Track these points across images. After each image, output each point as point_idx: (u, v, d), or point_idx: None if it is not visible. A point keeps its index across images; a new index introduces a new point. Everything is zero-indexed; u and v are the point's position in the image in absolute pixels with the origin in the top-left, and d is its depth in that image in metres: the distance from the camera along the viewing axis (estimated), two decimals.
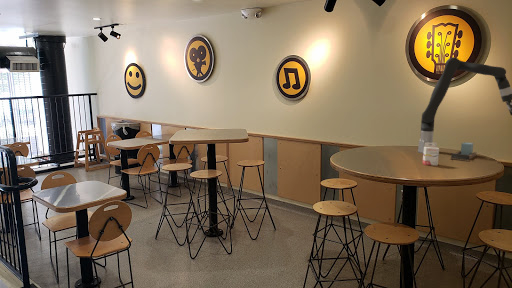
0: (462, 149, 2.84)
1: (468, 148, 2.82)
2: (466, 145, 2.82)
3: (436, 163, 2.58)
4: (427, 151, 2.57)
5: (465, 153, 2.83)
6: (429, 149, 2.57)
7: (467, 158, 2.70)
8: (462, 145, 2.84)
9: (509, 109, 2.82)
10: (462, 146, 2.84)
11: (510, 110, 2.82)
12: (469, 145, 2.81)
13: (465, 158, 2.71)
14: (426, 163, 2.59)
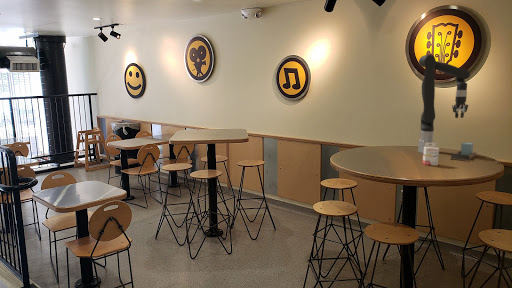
0: (462, 149, 2.84)
1: (468, 148, 2.82)
2: (466, 145, 2.82)
3: (436, 163, 2.58)
4: (427, 151, 2.57)
5: (465, 153, 2.83)
6: (429, 149, 2.57)
7: (467, 158, 2.70)
8: (462, 145, 2.84)
9: (461, 111, 3.04)
10: (462, 146, 2.84)
11: (461, 113, 3.04)
12: (469, 145, 2.81)
13: (465, 158, 2.71)
14: (426, 163, 2.59)
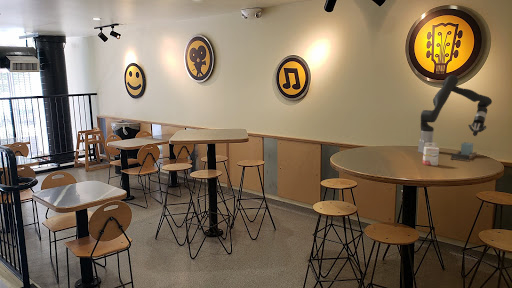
0: (462, 149, 2.84)
1: (468, 148, 2.82)
2: (466, 145, 2.82)
3: (436, 163, 2.58)
4: (427, 151, 2.57)
5: (465, 153, 2.83)
6: (429, 149, 2.57)
7: (467, 158, 2.70)
8: (462, 145, 2.84)
9: None
10: (462, 146, 2.84)
11: None
12: (469, 145, 2.81)
13: (465, 158, 2.71)
14: (426, 163, 2.59)
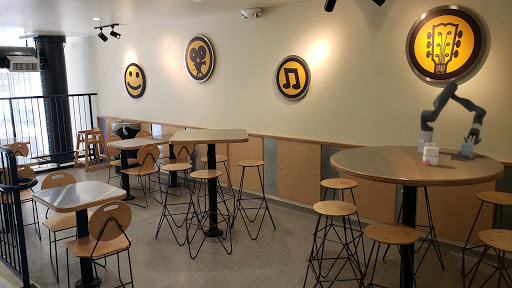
0: (462, 149, 2.84)
1: (468, 148, 2.82)
2: (466, 145, 2.82)
3: (436, 163, 2.58)
4: (427, 151, 2.57)
5: (465, 153, 2.83)
6: (429, 149, 2.57)
7: (467, 158, 2.70)
8: (462, 145, 2.84)
9: None
10: (462, 146, 2.84)
11: None
12: (469, 145, 2.81)
13: (465, 158, 2.71)
14: (426, 163, 2.59)
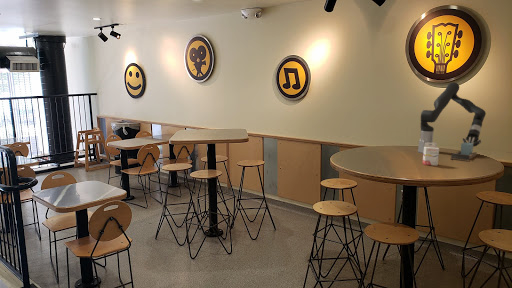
0: (462, 149, 2.84)
1: (468, 148, 2.81)
2: (466, 145, 2.82)
3: (436, 163, 2.58)
4: (427, 151, 2.57)
5: (465, 153, 2.83)
6: (429, 149, 2.57)
7: (467, 158, 2.70)
8: (462, 145, 2.84)
9: None
10: (462, 146, 2.84)
11: None
12: (469, 145, 2.81)
13: (465, 158, 2.71)
14: (426, 163, 2.59)
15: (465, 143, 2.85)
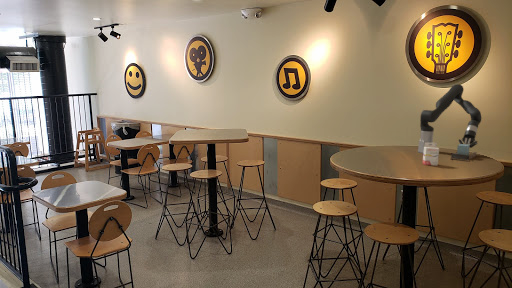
0: (458, 151, 2.77)
1: (464, 150, 2.74)
2: (462, 147, 2.75)
3: (436, 163, 2.58)
4: (427, 151, 2.57)
5: None
6: (429, 149, 2.57)
7: (467, 158, 2.70)
8: (458, 147, 2.76)
9: None
10: (458, 148, 2.77)
11: None
12: (465, 147, 2.73)
13: (465, 158, 2.71)
14: (426, 163, 2.59)
15: (461, 145, 2.77)
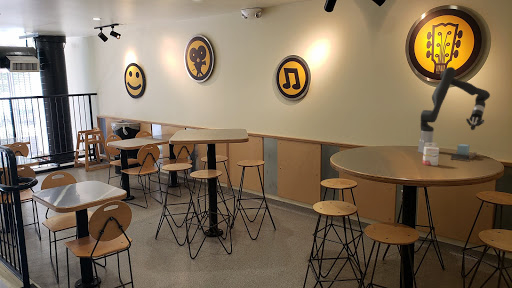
0: (458, 151, 2.77)
1: (464, 150, 2.74)
2: (462, 147, 2.75)
3: (436, 163, 2.58)
4: (427, 151, 2.57)
5: None
6: (429, 149, 2.57)
7: (467, 158, 2.70)
8: (458, 147, 2.76)
9: None
10: (458, 148, 2.76)
11: None
12: (465, 147, 2.73)
13: (465, 158, 2.71)
14: (426, 163, 2.59)
15: (461, 145, 2.77)
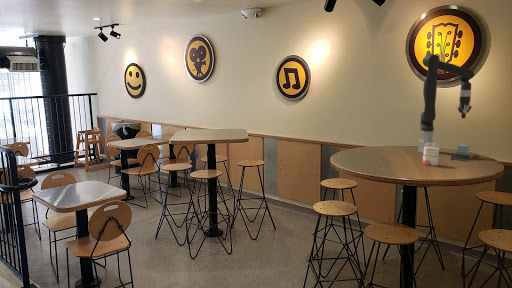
0: (458, 151, 2.77)
1: (464, 150, 2.74)
2: (462, 147, 2.75)
3: (436, 163, 2.58)
4: (427, 151, 2.57)
5: None
6: (429, 149, 2.57)
7: (467, 158, 2.70)
8: (458, 147, 2.76)
9: None
10: (458, 148, 2.76)
11: None
12: (465, 147, 2.73)
13: (465, 158, 2.71)
14: (426, 163, 2.59)
15: (461, 145, 2.77)
